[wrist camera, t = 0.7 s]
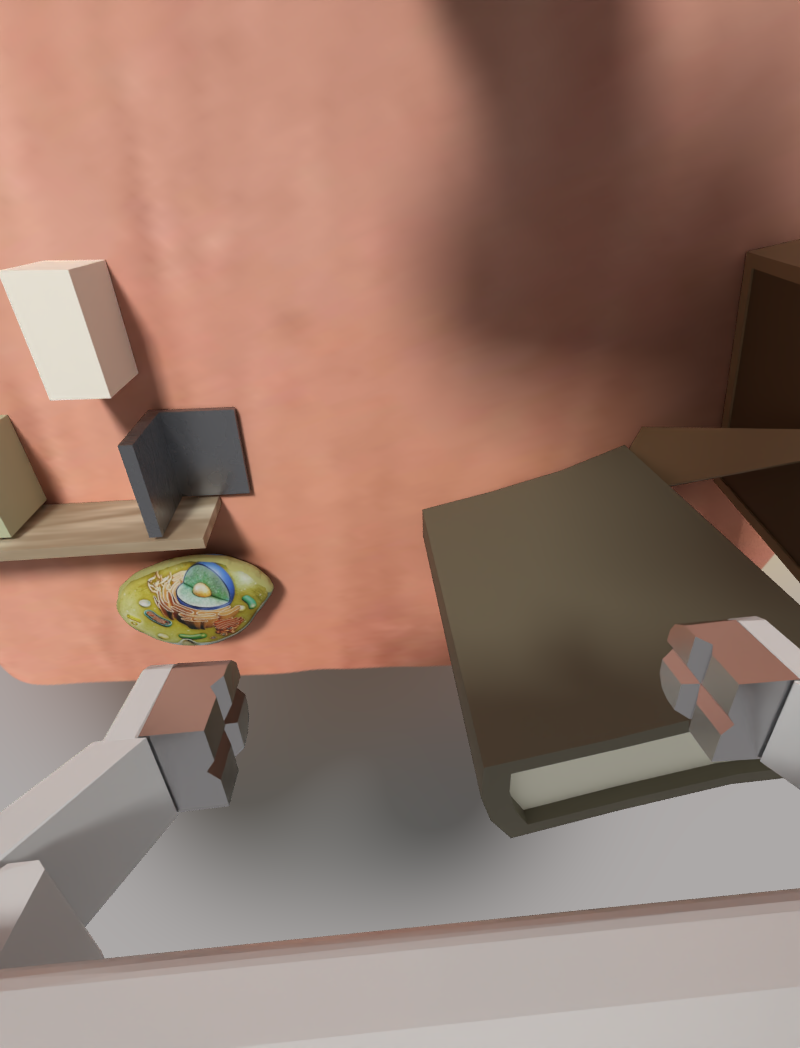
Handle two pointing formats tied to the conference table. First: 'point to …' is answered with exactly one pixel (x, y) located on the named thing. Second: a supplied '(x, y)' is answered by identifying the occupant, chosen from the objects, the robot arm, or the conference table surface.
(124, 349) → the book ivory
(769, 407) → the photo frame
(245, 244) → the conference table surface
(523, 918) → the robot arm
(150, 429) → the bookend
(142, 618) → the cell model
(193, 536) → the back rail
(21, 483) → the book olive
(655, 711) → the book
